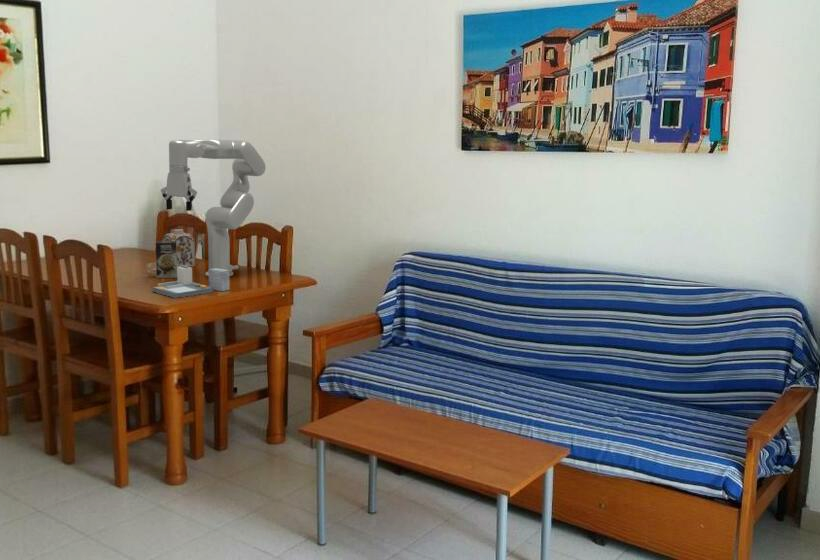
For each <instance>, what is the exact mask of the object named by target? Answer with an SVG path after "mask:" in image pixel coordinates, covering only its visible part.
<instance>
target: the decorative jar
mask: <svg viewBox="0 0 820 560" xmlns="http://www.w3.org/2000/svg"><path fill="white" fill-rule="evenodd" d="M161 241H176V247H177V267H181V265H185V266H188V267H190V268H194V266H195V267H196V249H195V248H196V245H195V242H196V241H195V239H194V237H193V235H192V234H191V233H188V232H184V229H182V228H181V229H179V228H177V229H176V228H175V229H173V232H169V233H166V234H165V235H164V236H163V237H162V239H161Z"/></svg>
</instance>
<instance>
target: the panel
mask: <svg viewBox="0 0 820 560" xmlns="http://www.w3.org/2000/svg"><path fill="white" fill-rule="evenodd" d="M151 291H152V293H154V292H156V293H155V294H158V293H159V294H158V295H161V294H163V295H162V296H164V295H166V296H165V297H168V296H170V297H169V298H171V297H173V298H172V299H179V298H178V297H182V298H187V297H186V296H188V297H194V295H195V296H200V295H199V294H201V295H206V294H211V293H212V294H213V293H214V290H213V288H212V287H209V285H206V284H201V283H197V282H194V281H192V283H185V284H177V280H175V281H174V280H173V281H168V282H159V283H157V286H152V288H151Z"/></svg>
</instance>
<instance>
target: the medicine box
mask: <svg viewBox="0 0 820 560" xmlns="http://www.w3.org/2000/svg"><path fill="white" fill-rule="evenodd" d="M208 271H209V276H208V287H212V288H213V291H220V292H226V290H227V291H229V290H230V276H229V270H225V269H218V268H214V269H210V270H209V269H208Z"/></svg>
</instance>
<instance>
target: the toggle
mask: <svg viewBox="0 0 820 560" xmlns="http://www.w3.org/2000/svg"><path fill="white" fill-rule="evenodd" d="M176 281H177V284H185V283H192V282H193V267H188V266H185V265H181V267H177V280H176Z"/></svg>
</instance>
